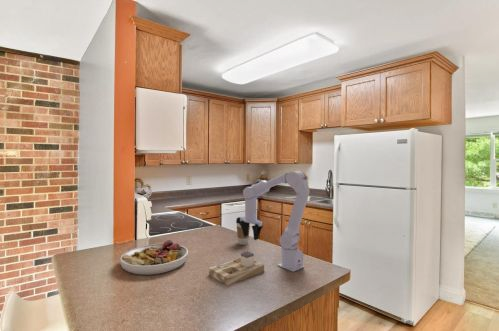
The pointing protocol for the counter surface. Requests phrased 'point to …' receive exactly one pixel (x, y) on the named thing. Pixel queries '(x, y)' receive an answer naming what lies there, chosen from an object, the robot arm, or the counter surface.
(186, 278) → the counter surface
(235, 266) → the socket block
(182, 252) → the bowl
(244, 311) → the counter surface
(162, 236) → the counter surface
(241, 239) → the coffee cup
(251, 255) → the plug
